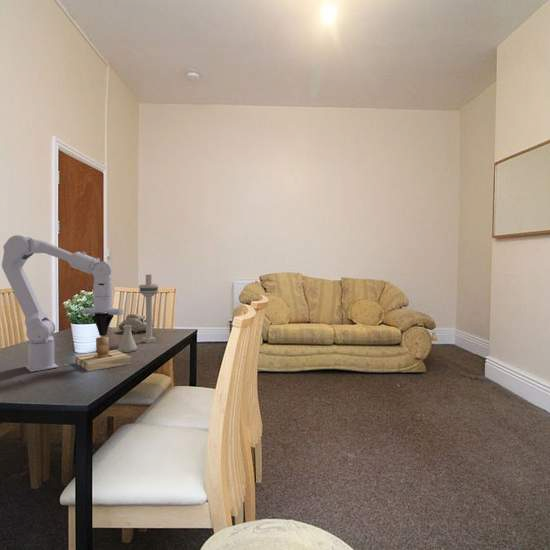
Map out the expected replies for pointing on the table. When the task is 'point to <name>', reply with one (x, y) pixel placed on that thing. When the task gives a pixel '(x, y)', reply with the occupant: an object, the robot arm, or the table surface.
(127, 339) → the flask
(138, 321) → the mineral
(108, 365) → the birch board
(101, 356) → the oak peg
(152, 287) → the model tower
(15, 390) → the table surface
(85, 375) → the table surface
